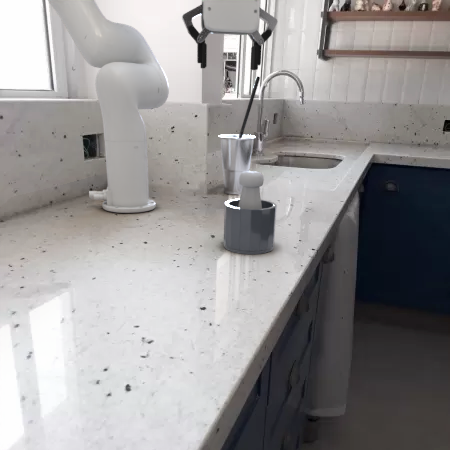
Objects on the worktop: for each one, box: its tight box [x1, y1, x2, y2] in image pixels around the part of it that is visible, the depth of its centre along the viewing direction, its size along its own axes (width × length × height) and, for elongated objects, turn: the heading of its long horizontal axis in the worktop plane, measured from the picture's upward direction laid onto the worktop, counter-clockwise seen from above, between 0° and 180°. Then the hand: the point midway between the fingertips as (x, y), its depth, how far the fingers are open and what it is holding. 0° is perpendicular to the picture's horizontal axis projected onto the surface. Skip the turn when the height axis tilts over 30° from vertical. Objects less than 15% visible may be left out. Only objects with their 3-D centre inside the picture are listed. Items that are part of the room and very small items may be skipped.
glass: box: [218, 76, 261, 196], centre depth 131 cm, size 11×11×30 cm
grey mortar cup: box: [223, 198, 278, 255], centre depth 88 cm, size 9×9×8 cm
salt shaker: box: [238, 170, 265, 209], centre depth 87 cm, size 6×6×13 cm
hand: (229, 68), depth 90 cm, fingers open, 9 cm apart
